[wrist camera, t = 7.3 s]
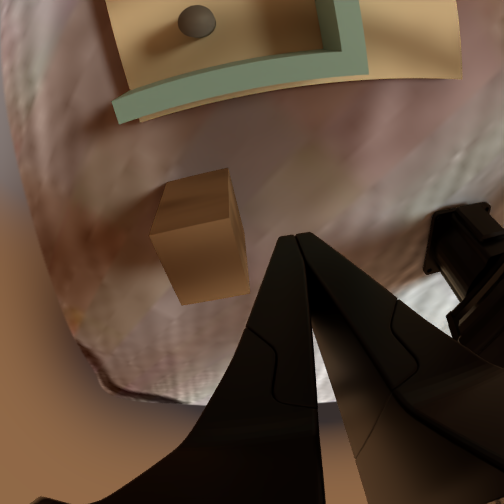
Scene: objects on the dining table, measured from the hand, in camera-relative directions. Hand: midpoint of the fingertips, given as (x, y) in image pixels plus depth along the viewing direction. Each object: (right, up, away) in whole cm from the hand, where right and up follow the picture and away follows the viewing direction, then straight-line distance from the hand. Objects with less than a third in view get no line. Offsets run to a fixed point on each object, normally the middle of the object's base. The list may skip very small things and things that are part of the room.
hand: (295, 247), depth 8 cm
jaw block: (-4, +3, +13) cm, 14 cm away
